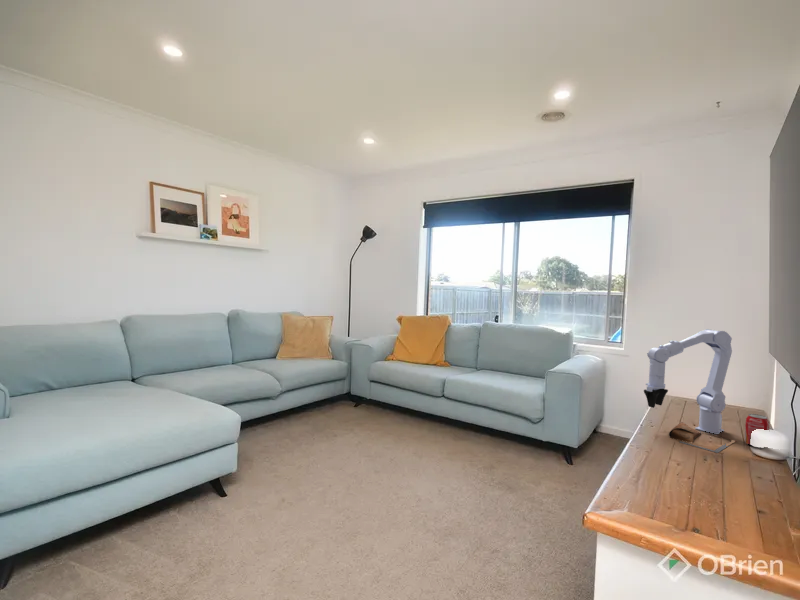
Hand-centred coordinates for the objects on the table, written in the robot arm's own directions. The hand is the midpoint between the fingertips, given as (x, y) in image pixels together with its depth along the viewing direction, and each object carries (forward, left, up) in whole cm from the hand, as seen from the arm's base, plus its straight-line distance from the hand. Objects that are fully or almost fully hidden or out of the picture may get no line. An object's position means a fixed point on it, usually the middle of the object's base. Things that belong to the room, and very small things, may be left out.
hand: (655, 405), depth 177 cm
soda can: (-12, +32, -10) cm, 35 cm away
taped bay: (0, +19, -9) cm, 21 cm away
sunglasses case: (0, +12, -10) cm, 16 cm away
